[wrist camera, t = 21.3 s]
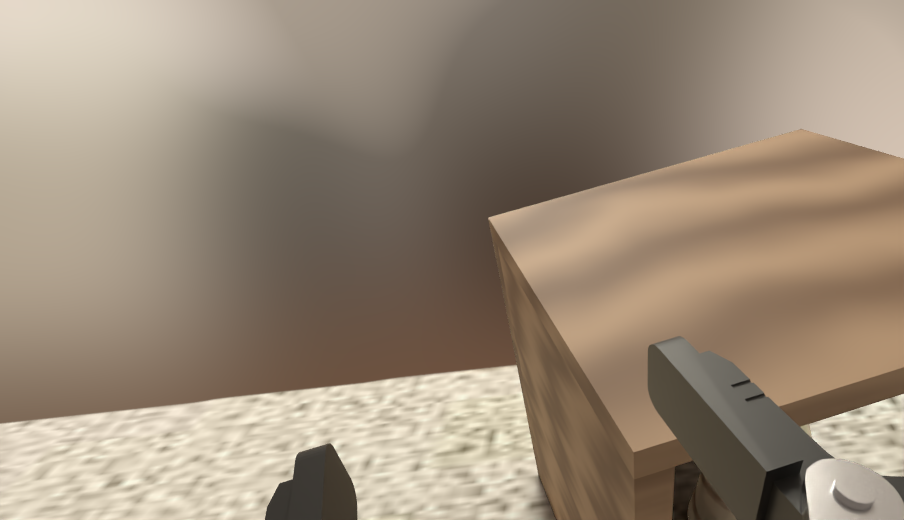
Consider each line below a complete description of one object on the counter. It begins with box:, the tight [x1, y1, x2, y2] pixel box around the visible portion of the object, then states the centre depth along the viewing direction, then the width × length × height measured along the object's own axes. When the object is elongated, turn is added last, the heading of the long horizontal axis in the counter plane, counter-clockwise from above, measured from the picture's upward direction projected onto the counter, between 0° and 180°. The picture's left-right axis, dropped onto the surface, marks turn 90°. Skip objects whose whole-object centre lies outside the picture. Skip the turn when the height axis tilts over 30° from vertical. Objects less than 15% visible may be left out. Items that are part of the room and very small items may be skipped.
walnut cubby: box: [488, 129, 904, 520], centre depth 31 cm, size 19×23×29 cm
